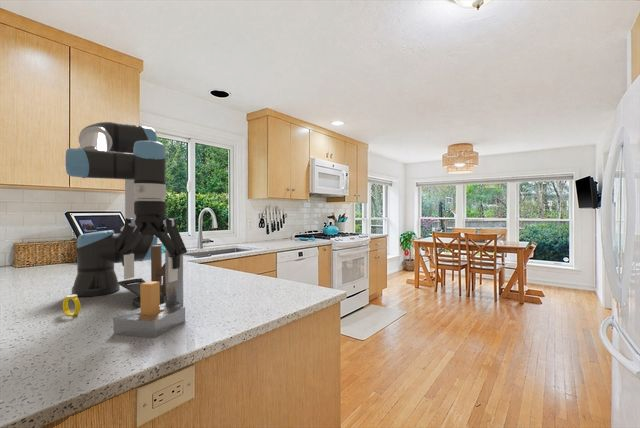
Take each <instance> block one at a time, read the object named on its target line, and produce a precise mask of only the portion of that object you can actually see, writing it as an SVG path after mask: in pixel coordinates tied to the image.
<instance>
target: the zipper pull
mask: <svg viewBox="0 0 640 428" xmlns="http://www.w3.org/2000/svg"><path fill="white" fill-rule="evenodd" d="M118 282H119V283H118V284H119V285H120V286H121V287H122V288H124V289H126V290H127V291H129V292H131V293H132V294H134V295H135V296H137V297H135V298H132V307H134V308H135V310H136V309H138V308H141V298H140V284H142V283H145V282H146V281H145V279H143V278H141V277H140V278H129V279H124V280H121V281H118ZM164 296H165V295H163V294H162V293H161V292H160V305H161V304H164V303H166V297H164Z"/></svg>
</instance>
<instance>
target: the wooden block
mask: <svg viewBox="0 0 640 428" xmlns="http://www.w3.org/2000/svg"><path fill="white" fill-rule="evenodd" d="M162 249H163V247H162V245H159V244H157V245H153V246H151V260H150V278H151V279H150V281H155V282H160V292H161V293H162V294H163V296H165V262H164V264H162V262H163V260H162V257H163V256H162V255H163V254H162Z"/></svg>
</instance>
